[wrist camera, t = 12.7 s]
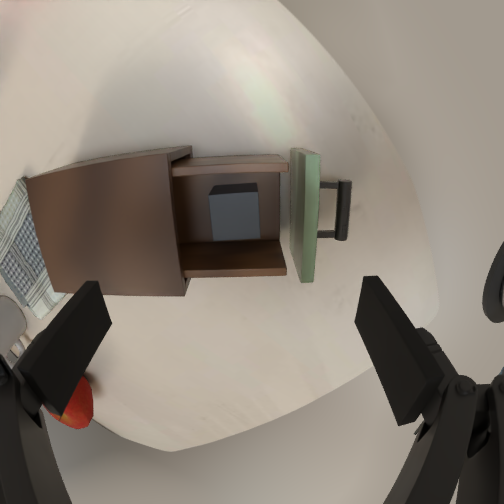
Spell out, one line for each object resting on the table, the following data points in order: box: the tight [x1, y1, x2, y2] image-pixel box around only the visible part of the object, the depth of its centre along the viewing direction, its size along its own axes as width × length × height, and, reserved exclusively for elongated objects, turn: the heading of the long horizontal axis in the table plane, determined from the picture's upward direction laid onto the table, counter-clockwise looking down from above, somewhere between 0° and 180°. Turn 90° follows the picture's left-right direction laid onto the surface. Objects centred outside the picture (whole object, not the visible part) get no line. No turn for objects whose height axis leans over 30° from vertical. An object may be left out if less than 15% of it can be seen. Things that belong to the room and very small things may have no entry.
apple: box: [43, 376, 93, 429], centre depth 39 cm, size 11×11×12 cm
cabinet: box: [25, 146, 192, 296], centre depth 27 cm, size 16×13×10 cm
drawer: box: [171, 148, 352, 283], centre depth 27 cm, size 19×11×8 cm, turn 91°
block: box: [208, 183, 261, 241], centre depth 27 cm, size 4×4×4 cm
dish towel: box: [0, 176, 66, 320], centre depth 32 cm, size 19×18×3 cm
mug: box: [0, 296, 26, 369], centre depth 34 cm, size 12×8×11 cm
